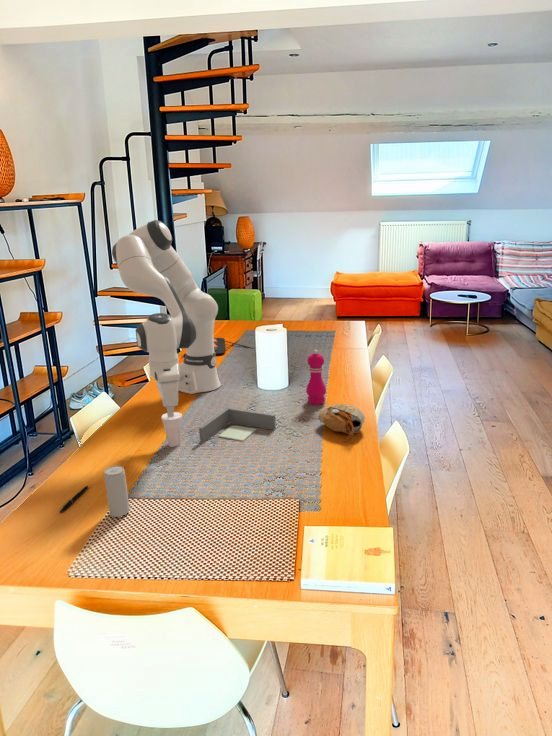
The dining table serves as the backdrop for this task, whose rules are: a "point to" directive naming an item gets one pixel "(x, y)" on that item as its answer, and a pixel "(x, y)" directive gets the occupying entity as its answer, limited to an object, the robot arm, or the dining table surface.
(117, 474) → the beverage can
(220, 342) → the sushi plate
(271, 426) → the grey corner wall
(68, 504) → the fountain pen
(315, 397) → the pepper mill
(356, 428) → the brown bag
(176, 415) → the smoothie
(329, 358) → the dining table surface
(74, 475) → the dining table surface
